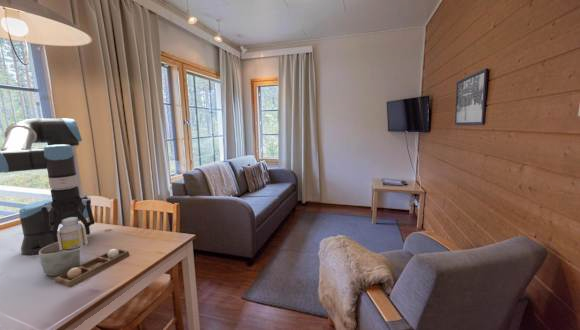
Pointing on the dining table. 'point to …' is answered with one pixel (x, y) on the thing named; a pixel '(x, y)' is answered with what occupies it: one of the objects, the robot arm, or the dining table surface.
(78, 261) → the planter
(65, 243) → the pill bottle
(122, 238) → the dining table surface
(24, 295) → the dining table surface
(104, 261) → the caddy
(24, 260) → the dining table surface
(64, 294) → the dining table surface
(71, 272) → the brown egg ball
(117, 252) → the white egg ball
